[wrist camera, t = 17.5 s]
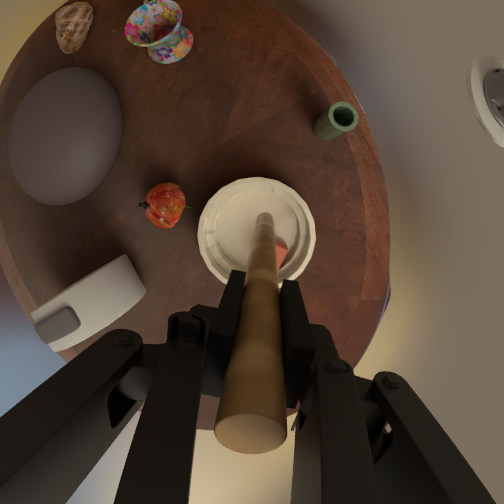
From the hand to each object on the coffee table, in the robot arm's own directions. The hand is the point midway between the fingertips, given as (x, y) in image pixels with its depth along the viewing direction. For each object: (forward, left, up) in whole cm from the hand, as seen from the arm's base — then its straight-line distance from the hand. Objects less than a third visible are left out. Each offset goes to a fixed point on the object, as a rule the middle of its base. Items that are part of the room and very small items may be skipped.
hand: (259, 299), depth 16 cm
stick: (0, -1, -21) cm, 21 cm away
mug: (+22, -29, -35) cm, 51 cm away
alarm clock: (+27, +19, -35) cm, 49 cm away
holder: (-8, -16, -35) cm, 40 cm away
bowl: (0, +3, -35) cm, 35 cm away
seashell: (+45, -34, -35) cm, 67 cm away
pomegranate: (+15, +1, -35) cm, 39 cm away
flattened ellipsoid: (+36, -9, -35) cm, 52 cm away
